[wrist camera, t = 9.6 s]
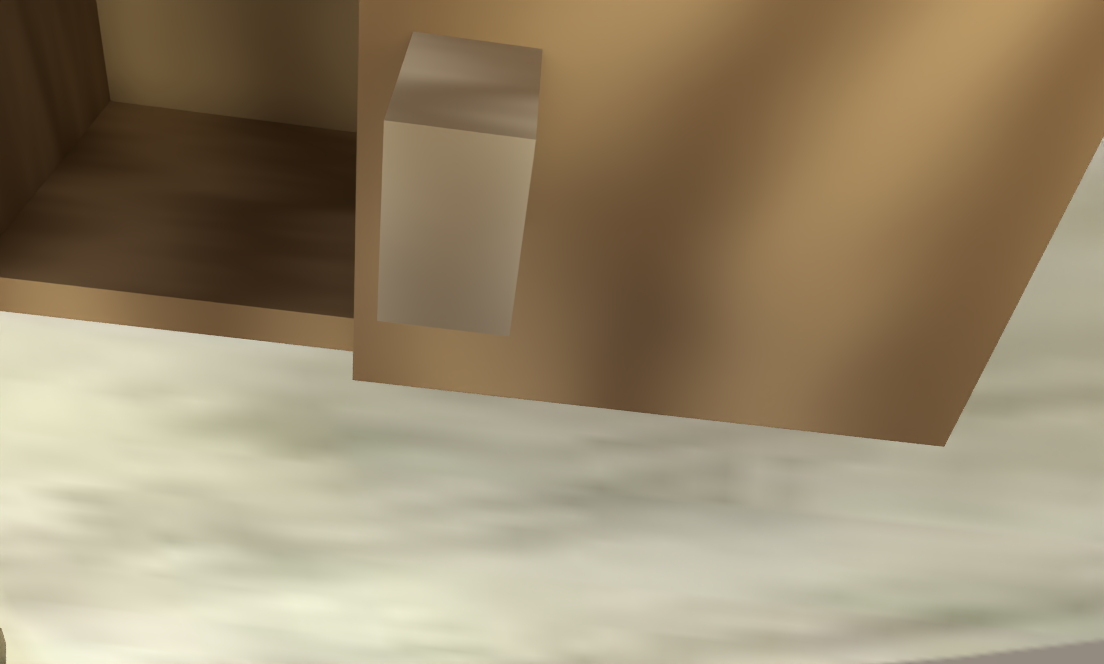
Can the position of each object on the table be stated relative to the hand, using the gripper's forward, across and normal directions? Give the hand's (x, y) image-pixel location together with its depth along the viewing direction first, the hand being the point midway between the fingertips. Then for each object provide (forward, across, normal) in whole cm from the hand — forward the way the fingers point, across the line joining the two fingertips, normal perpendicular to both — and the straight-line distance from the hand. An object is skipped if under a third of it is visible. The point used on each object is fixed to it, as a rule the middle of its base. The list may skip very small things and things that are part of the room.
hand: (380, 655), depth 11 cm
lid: (+13, +5, 0) cm, 14 cm away
